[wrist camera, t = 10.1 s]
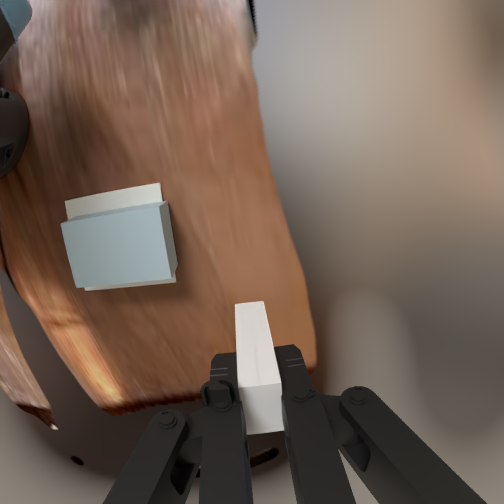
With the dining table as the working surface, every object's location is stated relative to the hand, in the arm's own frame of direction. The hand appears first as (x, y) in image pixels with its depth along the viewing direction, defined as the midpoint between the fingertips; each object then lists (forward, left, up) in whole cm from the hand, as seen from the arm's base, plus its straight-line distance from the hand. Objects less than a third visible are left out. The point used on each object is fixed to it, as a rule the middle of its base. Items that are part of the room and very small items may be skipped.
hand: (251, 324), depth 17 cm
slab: (-9, 0, -23) cm, 25 cm away
